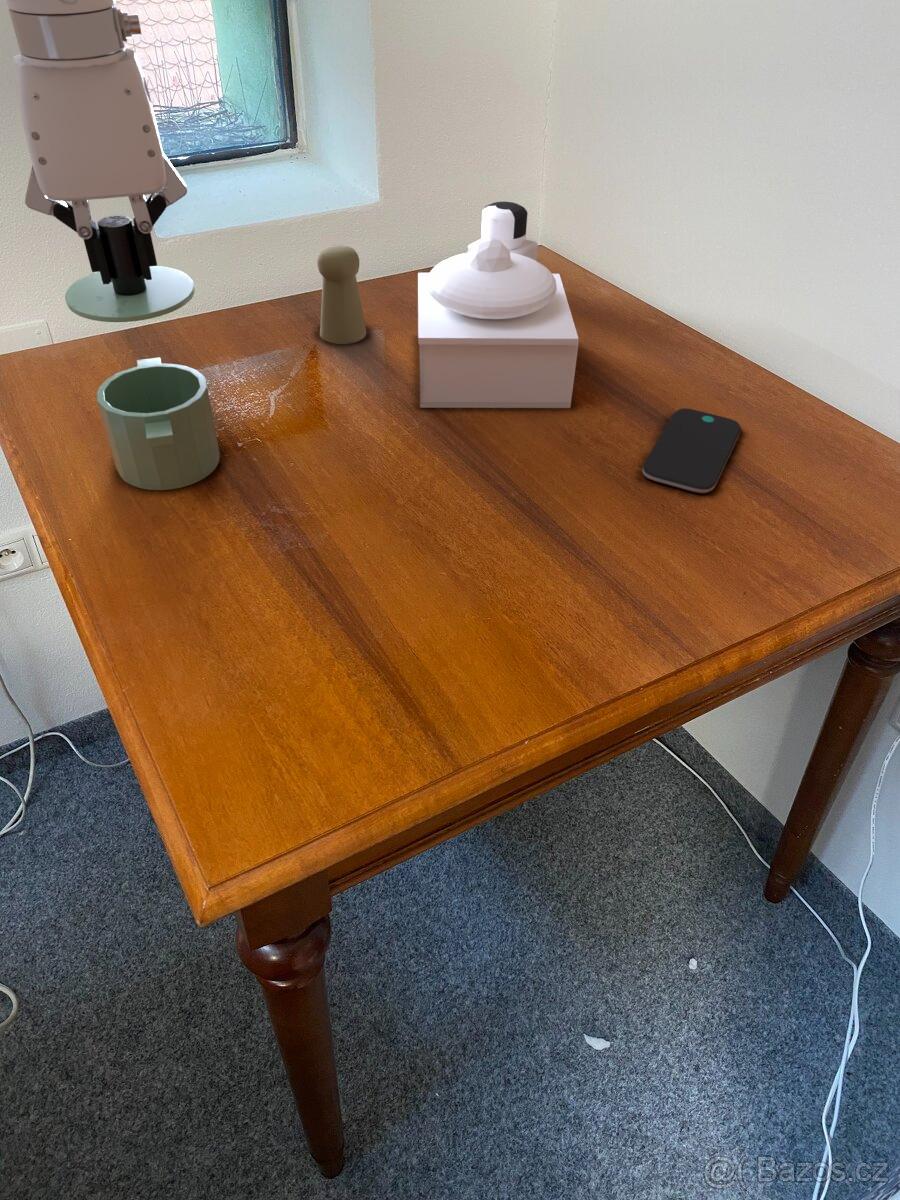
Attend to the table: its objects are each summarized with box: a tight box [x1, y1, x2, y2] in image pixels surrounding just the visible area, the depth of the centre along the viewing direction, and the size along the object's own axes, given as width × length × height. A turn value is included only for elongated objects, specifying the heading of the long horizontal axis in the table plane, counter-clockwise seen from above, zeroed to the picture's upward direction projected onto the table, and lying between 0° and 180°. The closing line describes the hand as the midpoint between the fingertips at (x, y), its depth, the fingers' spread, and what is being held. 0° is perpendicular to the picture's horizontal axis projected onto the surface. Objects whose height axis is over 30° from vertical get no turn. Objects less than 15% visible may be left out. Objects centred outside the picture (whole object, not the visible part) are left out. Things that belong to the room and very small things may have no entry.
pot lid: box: [64, 215, 196, 323], centre depth 77 cm, size 11×11×7 cm
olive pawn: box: [316, 244, 367, 345], centre depth 110 cm, size 6×6×11 cm
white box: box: [417, 239, 580, 409], centre depth 102 cm, size 18×18×16 cm
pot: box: [96, 356, 221, 491], centre depth 89 cm, size 10×16×8 cm, turn 18°
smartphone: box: [642, 407, 742, 495], centre depth 94 cm, size 8×1×15 cm
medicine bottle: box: [466, 201, 539, 261], centre depth 120 cm, size 7×7×12 cm
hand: (126, 274), depth 78 cm, fingers closed on pot lid, 2 cm apart
